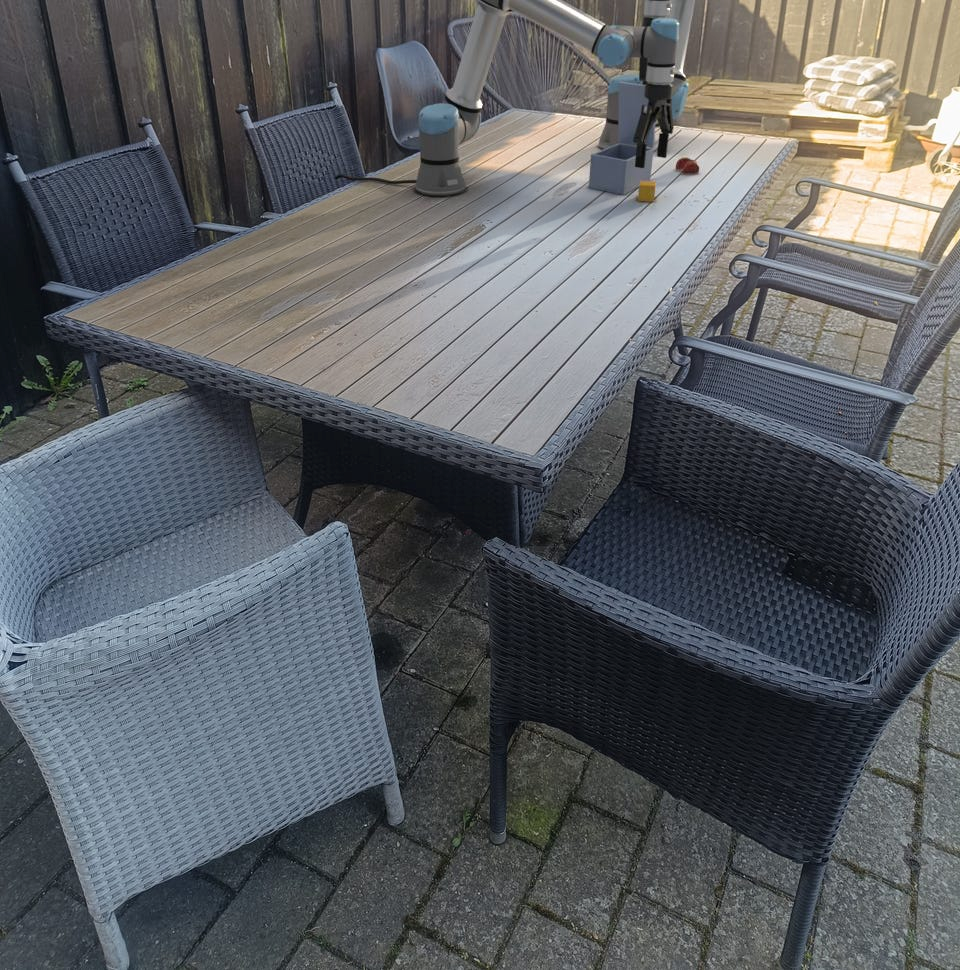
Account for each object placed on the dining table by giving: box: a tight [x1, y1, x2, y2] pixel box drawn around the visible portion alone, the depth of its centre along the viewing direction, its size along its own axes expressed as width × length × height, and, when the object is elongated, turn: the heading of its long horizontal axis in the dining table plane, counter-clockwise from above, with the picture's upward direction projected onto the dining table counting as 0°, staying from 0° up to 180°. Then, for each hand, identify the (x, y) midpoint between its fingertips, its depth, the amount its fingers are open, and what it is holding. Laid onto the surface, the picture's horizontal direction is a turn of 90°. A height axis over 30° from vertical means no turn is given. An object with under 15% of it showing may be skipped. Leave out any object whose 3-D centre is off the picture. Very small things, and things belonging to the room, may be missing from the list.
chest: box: [588, 143, 655, 195], centre depth 260 cm, size 17×12×10 cm
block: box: [637, 180, 657, 203], centre depth 250 cm, size 5×5×5 cm
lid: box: [618, 81, 656, 149], centre depth 258 cm, size 18×12×9 cm
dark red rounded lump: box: [675, 156, 700, 175], centre depth 273 cm, size 6×4×8 cm
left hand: (650, 162), depth 245 cm, fingers open, 13 cm apart
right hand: (647, 103), depth 259 cm, fingers closed on lid, 2 cm apart
